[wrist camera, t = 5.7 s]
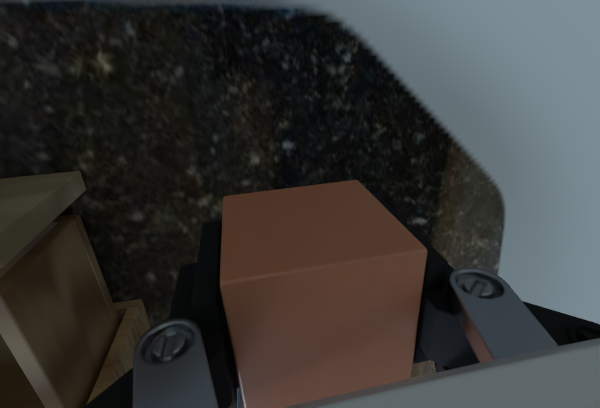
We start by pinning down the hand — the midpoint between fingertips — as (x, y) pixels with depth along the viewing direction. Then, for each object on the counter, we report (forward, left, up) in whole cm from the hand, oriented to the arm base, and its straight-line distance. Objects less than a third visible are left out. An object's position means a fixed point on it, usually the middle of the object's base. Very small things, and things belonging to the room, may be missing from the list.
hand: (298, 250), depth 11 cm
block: (0, 0, 0) cm, 0 cm away
